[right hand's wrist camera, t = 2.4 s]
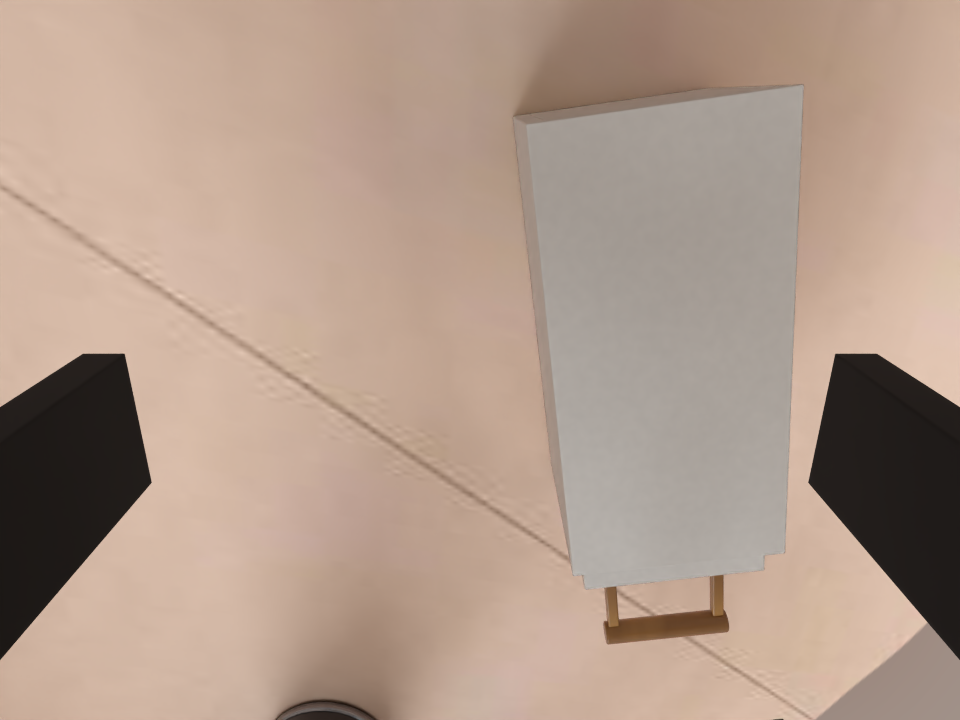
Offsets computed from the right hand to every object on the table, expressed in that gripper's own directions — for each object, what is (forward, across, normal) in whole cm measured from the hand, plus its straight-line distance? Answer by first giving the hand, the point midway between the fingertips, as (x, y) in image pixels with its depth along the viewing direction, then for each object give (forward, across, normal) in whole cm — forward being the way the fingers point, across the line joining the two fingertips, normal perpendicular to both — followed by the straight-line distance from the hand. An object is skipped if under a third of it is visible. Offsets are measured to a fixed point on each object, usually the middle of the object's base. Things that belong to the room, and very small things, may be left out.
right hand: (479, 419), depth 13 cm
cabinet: (+26, +8, -5) cm, 28 cm away
